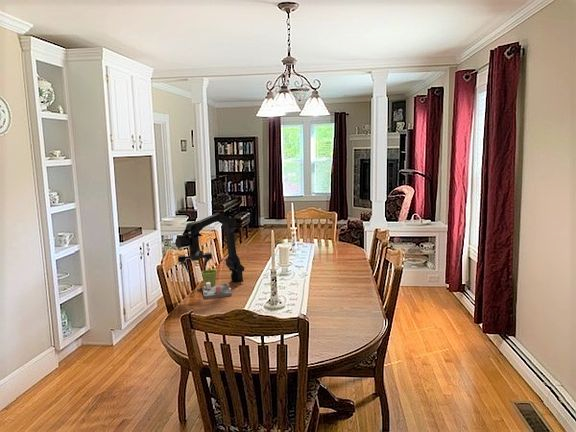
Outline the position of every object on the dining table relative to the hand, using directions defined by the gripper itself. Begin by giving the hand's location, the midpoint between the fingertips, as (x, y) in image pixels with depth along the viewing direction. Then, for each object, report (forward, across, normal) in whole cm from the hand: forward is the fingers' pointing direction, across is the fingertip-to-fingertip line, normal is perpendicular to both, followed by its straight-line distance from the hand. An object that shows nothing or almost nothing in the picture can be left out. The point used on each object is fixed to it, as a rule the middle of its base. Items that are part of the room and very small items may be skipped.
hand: (196, 272), depth 257 cm
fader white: (+10, +6, 0) cm, 12 cm away
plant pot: (+12, +8, +11) cm, 18 cm away
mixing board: (+12, +10, -4) cm, 16 cm away
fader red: (+10, +11, -9) cm, 17 cm away
